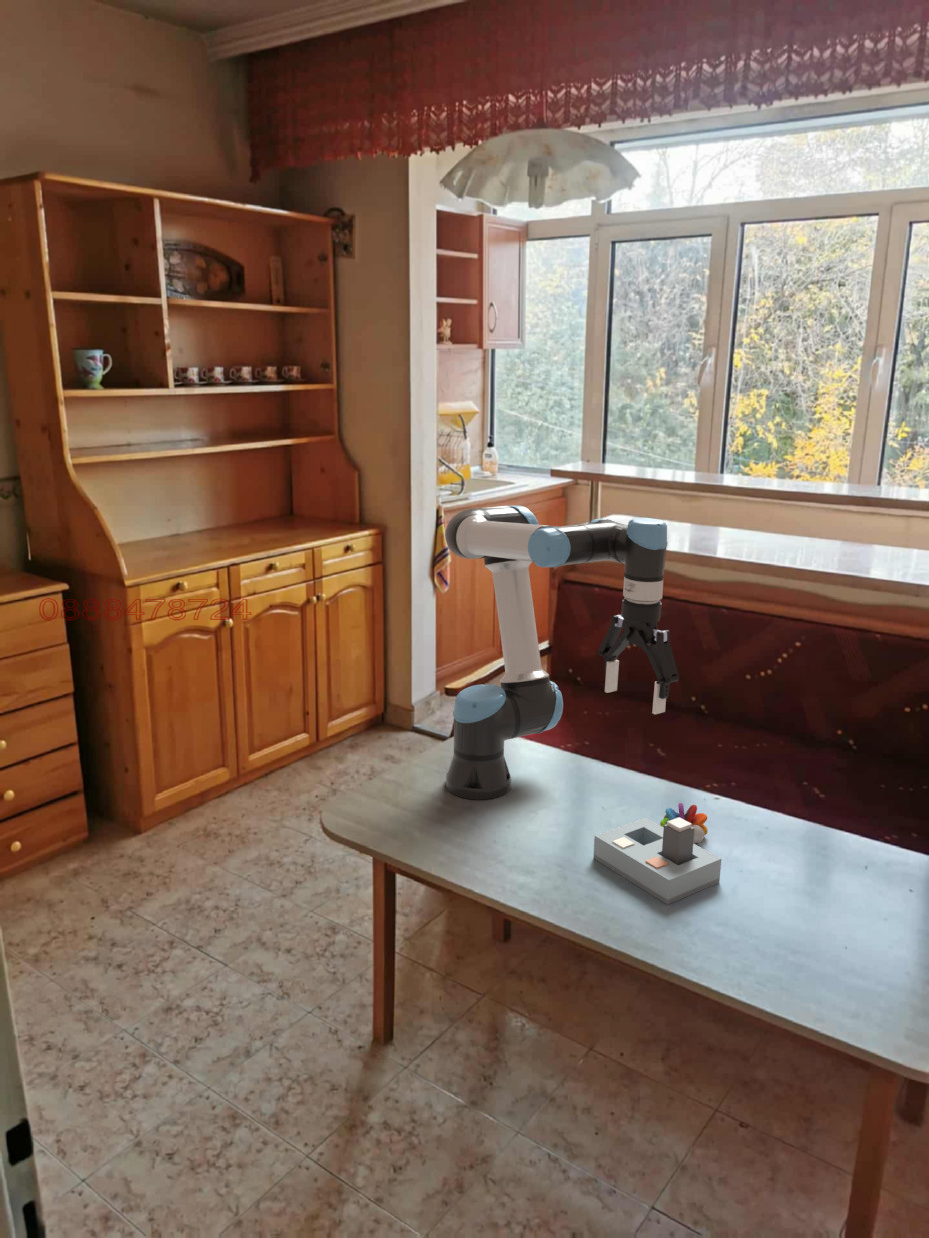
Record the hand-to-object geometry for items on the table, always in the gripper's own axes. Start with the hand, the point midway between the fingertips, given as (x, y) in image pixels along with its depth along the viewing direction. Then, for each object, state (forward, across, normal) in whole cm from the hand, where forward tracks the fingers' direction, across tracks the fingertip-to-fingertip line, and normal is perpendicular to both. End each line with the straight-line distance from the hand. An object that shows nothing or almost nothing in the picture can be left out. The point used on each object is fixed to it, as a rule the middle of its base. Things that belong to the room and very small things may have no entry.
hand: (634, 701), depth 187 cm
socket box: (+30, +14, -4) cm, 33 cm away
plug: (+28, +18, -3) cm, 34 cm away
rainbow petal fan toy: (+30, +7, +11) cm, 33 cm away
